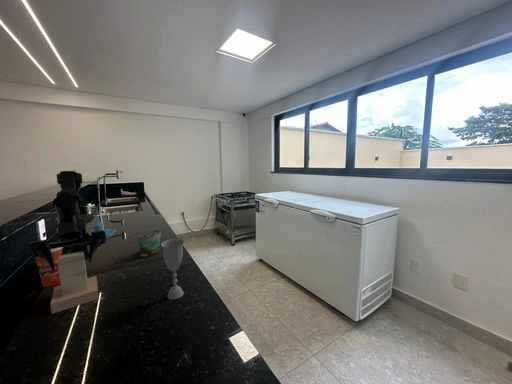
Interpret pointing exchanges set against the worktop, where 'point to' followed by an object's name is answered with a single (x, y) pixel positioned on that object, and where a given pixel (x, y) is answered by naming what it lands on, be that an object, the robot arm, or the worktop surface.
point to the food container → (150, 244)
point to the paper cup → (49, 269)
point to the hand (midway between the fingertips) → (72, 266)
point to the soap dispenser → (100, 227)
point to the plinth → (74, 296)
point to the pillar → (72, 273)
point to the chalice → (173, 263)
